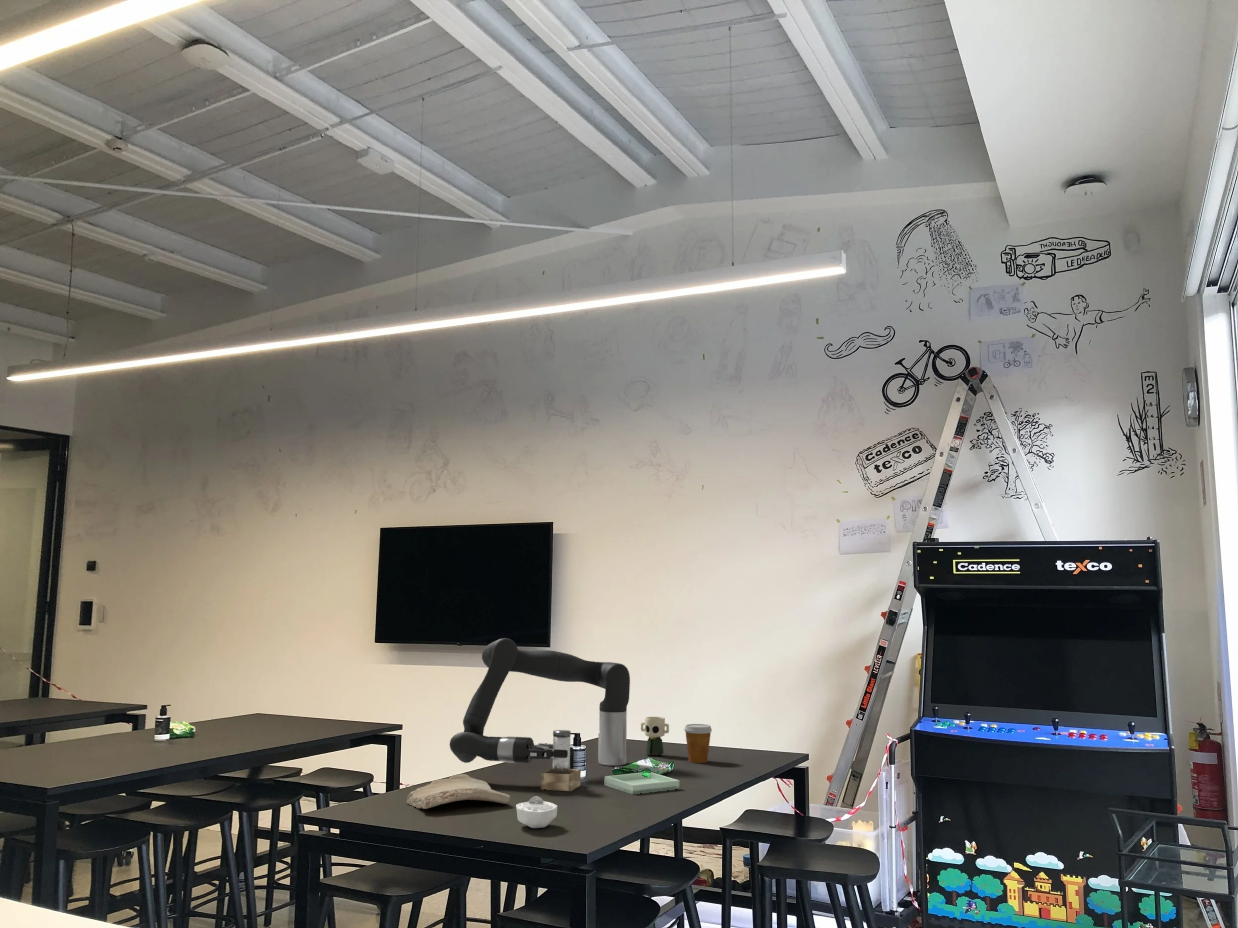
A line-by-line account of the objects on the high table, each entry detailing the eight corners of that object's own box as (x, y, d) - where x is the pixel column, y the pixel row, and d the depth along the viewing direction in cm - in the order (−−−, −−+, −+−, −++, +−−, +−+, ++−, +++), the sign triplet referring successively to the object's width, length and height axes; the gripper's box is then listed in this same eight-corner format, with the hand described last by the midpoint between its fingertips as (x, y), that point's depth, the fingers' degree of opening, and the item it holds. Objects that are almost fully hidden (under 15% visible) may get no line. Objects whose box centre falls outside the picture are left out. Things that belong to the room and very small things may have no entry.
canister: (549, 786, 286) (550, 730, 288) (564, 784, 288) (565, 729, 290) (557, 789, 281) (558, 732, 283) (572, 787, 284) (573, 731, 286)
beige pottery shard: (401, 805, 263) (424, 812, 246) (402, 776, 265) (425, 781, 248) (485, 800, 275) (513, 807, 258) (486, 772, 276) (514, 777, 259)
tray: (604, 784, 289) (604, 776, 289) (649, 780, 297) (649, 771, 297) (632, 794, 275) (632, 785, 275) (679, 789, 283) (679, 780, 283)
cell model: (513, 832, 229) (514, 803, 230) (516, 821, 241) (517, 792, 242) (556, 832, 230) (557, 803, 231) (557, 821, 242) (557, 792, 243)
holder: (540, 789, 281) (541, 773, 282) (550, 783, 290) (551, 767, 291) (571, 790, 279) (571, 774, 280) (580, 785, 288) (580, 769, 289)
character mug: (636, 755, 343) (636, 717, 345) (644, 752, 349) (645, 715, 351) (664, 757, 338) (664, 719, 340) (672, 755, 344) (672, 717, 346)
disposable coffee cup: (712, 759, 336) (711, 723, 337) (712, 764, 326) (711, 727, 328) (684, 758, 337) (684, 723, 338) (683, 763, 327) (683, 726, 329)
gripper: (507, 740, 283) (563, 742, 279) (524, 733, 297) (577, 735, 293) (506, 766, 282) (562, 769, 278) (523, 758, 296) (577, 761, 292)
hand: (569, 752), depth 285 cm, fingers closed on canister, 5 cm apart
